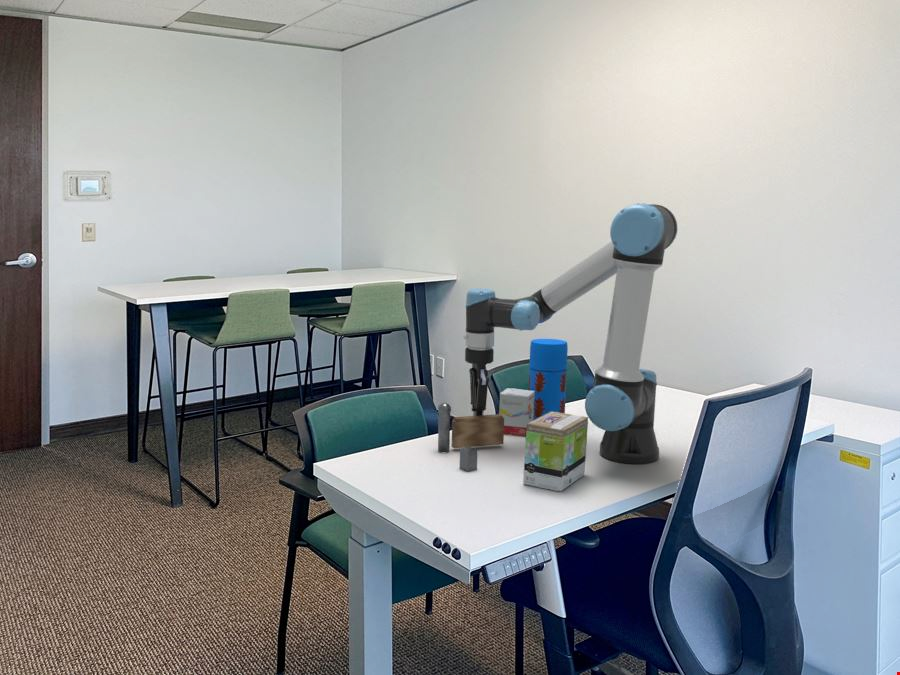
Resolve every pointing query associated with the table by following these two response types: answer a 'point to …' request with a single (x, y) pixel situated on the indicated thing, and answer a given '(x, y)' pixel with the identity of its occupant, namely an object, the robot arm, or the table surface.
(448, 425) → the hinge post
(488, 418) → the gate
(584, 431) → the tea box
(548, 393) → the thermos
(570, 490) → the table surface
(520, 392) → the ink box
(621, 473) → the table surface
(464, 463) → the block
